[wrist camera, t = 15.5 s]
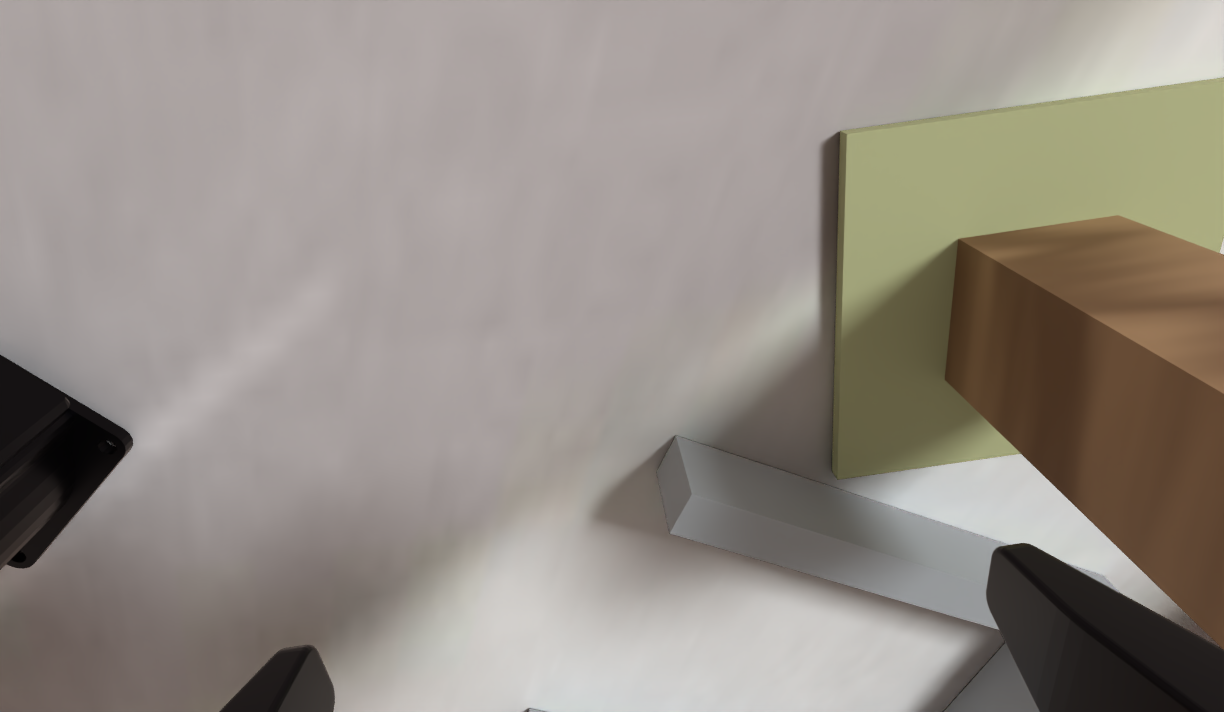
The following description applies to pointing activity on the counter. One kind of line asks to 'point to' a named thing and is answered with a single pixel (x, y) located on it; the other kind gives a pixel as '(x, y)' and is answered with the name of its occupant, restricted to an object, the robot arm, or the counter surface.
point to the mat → (979, 205)
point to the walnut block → (1107, 384)
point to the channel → (842, 547)
